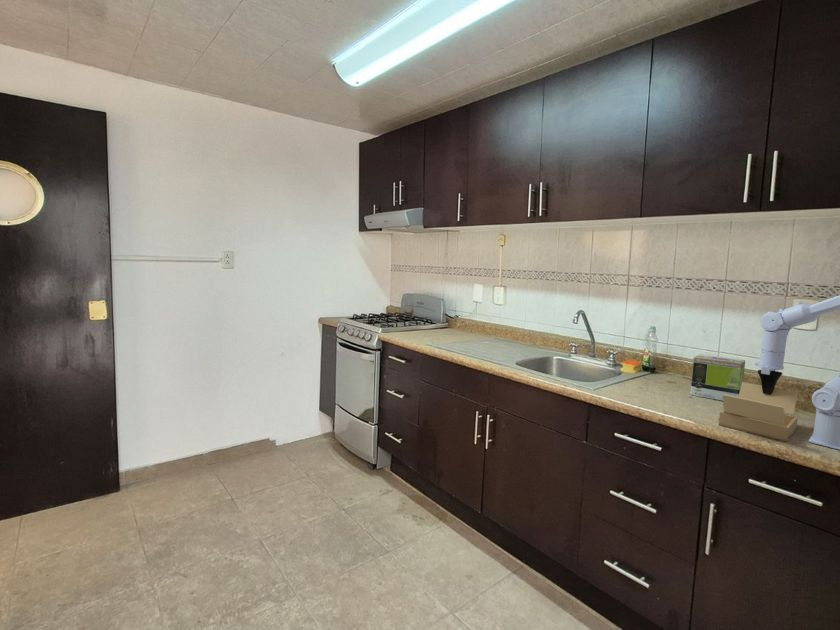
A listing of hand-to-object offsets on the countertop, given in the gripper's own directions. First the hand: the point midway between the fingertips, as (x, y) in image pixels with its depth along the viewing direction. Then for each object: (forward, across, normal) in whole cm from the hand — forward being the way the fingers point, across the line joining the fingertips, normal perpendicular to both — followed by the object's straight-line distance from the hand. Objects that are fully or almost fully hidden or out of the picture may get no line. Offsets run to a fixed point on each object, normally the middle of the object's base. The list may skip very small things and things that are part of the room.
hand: (767, 393), depth 137 cm
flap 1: (+1, +18, 0) cm, 18 cm away
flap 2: (+1, 0, 0) cm, 1 cm away
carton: (+9, +9, 0) cm, 13 cm away
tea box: (+9, -18, -18) cm, 27 cm away
